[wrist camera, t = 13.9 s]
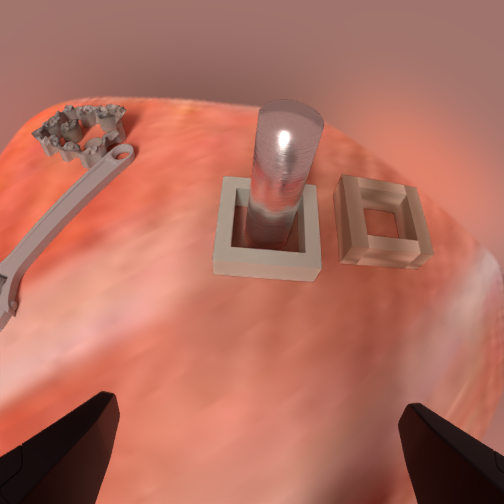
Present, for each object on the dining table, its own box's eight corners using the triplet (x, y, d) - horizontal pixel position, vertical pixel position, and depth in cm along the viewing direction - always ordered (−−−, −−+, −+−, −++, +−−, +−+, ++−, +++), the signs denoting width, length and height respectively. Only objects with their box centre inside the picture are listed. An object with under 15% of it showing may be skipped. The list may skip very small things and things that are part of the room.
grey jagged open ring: (136, 133, 33) (130, 105, 29) (93, 178, 29) (82, 151, 25) (77, 116, 34) (69, 92, 30) (38, 154, 30) (25, 130, 27)
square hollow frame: (309, 202, 29) (315, 185, 27) (313, 281, 25) (321, 268, 23) (223, 193, 29) (223, 175, 26) (213, 274, 25) (212, 260, 23)
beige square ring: (403, 205, 30) (416, 187, 28) (417, 269, 27) (434, 254, 24) (332, 194, 30) (342, 174, 27) (339, 263, 26) (352, 246, 24)
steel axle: (295, 240, 27) (337, 127, 16) (262, 262, 26) (289, 148, 15) (268, 211, 28) (293, 94, 17) (235, 230, 27) (245, 110, 16)
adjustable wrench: (125, 150, 32) (122, 138, 30) (163, 176, 30) (161, 163, 28) (-36, 309, 21) (-47, 302, 19) (-13, 356, 19) (-24, 351, 18)
